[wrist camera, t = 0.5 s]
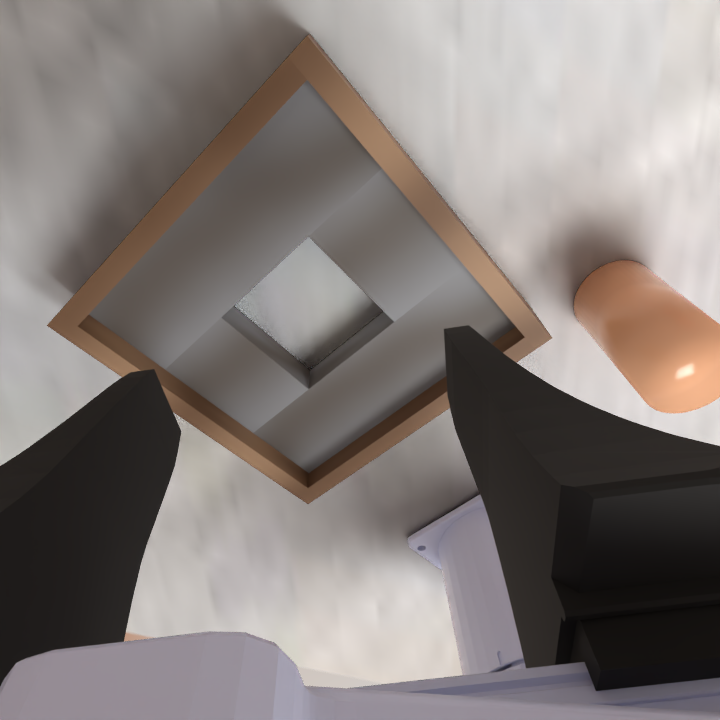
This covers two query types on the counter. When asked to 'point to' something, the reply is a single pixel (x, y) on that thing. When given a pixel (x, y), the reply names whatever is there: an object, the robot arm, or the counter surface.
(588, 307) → the peg
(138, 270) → the box
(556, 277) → the counter surface
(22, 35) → the counter surface
